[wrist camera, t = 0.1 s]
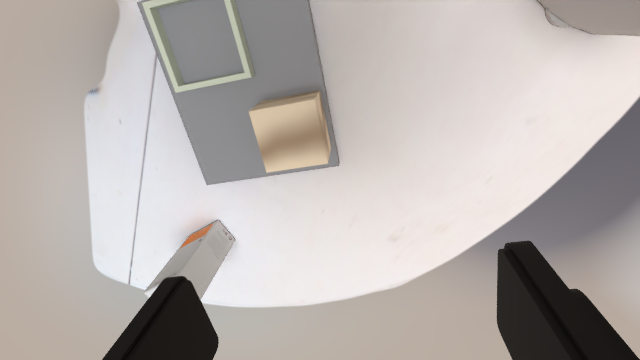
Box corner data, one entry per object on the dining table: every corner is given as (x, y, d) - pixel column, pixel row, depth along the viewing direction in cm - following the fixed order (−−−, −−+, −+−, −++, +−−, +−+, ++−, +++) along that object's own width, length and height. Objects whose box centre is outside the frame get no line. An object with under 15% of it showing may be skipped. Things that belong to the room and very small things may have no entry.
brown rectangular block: (261, 100, 38) (248, 111, 34) (319, 89, 37) (314, 99, 32) (276, 156, 41) (266, 172, 36) (331, 147, 40) (327, 163, 35)
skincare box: (218, 218, 47) (177, 275, 37) (236, 239, 49) (202, 300, 38) (188, 234, 49) (141, 293, 39) (206, 254, 51) (166, 316, 40)
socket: (150, 3, 35) (141, 2, 33) (230, -18, 33) (224, -20, 32) (182, 90, 38) (175, 92, 37) (255, 75, 37) (251, 77, 35)
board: (143, 3, 36) (136, 2, 35) (301, -39, 33) (299, -41, 32) (210, 181, 45) (206, 184, 44) (339, 162, 42) (338, 165, 41)
